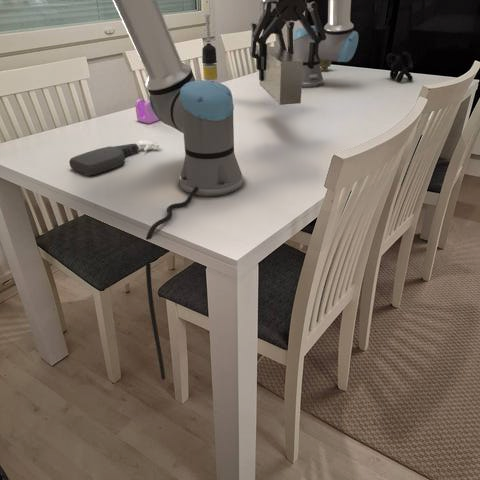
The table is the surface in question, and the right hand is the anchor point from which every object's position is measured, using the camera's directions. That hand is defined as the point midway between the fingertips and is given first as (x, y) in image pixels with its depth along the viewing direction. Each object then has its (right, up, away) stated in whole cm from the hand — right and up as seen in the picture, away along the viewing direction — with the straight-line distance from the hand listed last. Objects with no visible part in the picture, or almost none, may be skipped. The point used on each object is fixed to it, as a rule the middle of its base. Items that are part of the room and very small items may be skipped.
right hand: (271, 79), depth 147 cm
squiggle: (+62, +19, +54) cm, 84 cm away
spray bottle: (-45, -31, -22) cm, 58 cm away
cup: (+31, +31, +74) cm, 86 cm away
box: (+2, -7, -6) cm, 10 cm away
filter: (-22, +4, +32) cm, 39 cm away
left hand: (+3, -5, -23) cm, 23 cm away
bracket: (-40, -10, +11) cm, 43 cm away
